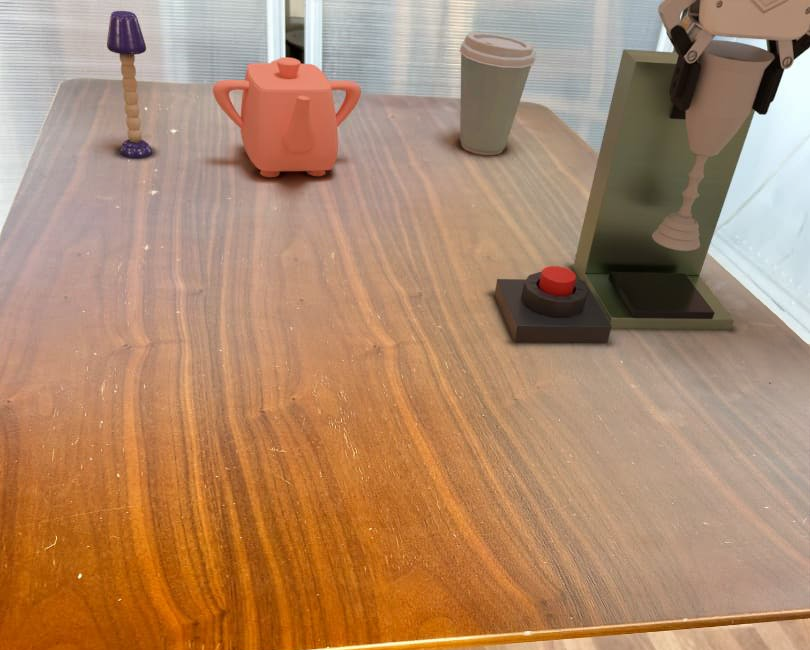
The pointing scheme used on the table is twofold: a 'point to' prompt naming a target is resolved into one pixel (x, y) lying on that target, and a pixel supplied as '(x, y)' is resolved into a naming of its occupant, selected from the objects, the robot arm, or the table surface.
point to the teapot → (288, 115)
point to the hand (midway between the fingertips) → (718, 106)
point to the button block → (550, 313)
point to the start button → (557, 281)
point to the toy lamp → (129, 77)
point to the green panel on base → (651, 206)
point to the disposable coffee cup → (491, 89)
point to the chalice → (714, 123)
